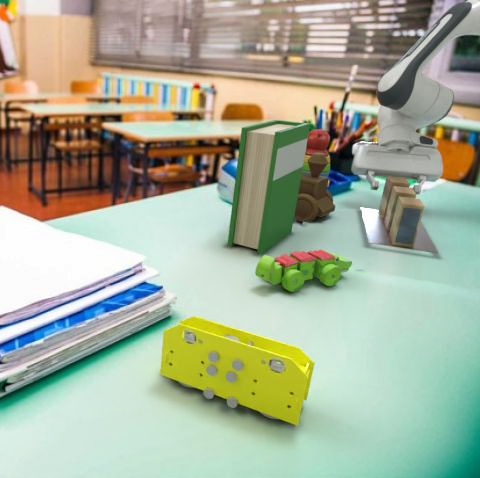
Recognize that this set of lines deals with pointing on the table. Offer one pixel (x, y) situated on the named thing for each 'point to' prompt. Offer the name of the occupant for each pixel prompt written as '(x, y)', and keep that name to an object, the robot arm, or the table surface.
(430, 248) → the word board
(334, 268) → the toy crocodile
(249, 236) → the hardback book
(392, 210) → the tile
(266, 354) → the yellow toy chassis
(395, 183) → the tile
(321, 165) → the wooden toy train
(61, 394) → the table surface
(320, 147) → the stacking bear
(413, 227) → the tile
